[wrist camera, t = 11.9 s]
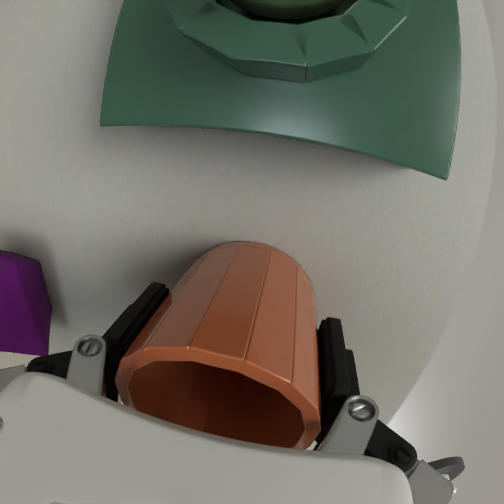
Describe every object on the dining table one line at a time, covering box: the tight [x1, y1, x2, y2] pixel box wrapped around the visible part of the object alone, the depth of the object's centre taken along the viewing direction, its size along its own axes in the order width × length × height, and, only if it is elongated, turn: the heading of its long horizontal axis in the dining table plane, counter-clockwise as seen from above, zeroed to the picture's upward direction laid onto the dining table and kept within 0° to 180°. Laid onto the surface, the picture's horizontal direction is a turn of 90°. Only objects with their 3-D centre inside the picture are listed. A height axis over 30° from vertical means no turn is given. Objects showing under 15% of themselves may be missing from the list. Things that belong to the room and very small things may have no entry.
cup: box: [115, 242, 322, 450], centre depth 10 cm, size 7×7×7 cm
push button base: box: [100, 0, 461, 180], centre depth 6 cm, size 12×10×5 cm
